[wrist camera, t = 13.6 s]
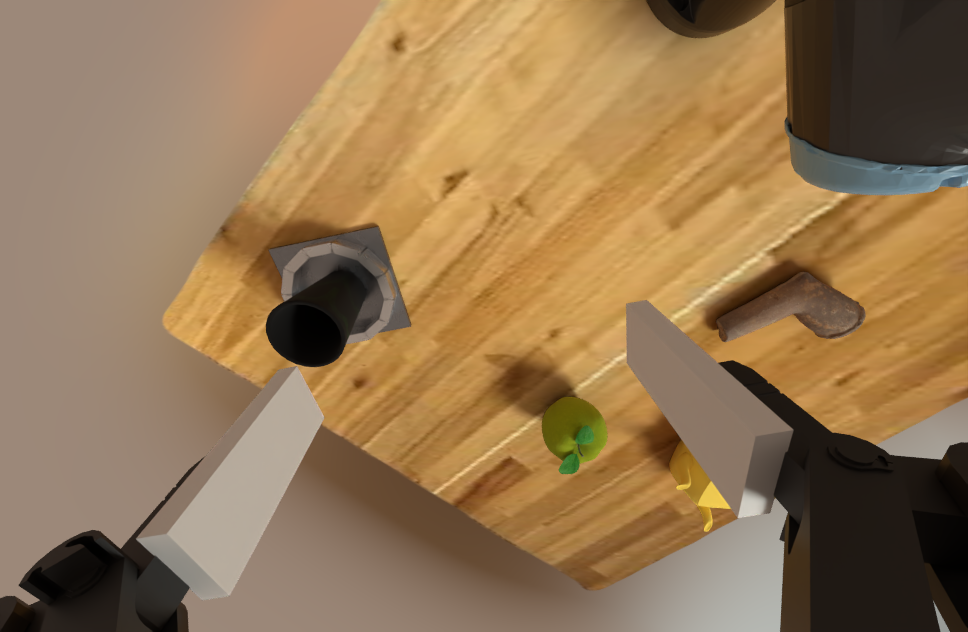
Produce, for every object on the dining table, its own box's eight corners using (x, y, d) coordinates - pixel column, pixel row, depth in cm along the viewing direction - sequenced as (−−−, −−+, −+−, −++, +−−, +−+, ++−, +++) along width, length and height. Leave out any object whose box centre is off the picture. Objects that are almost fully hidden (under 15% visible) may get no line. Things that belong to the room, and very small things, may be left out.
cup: (303, 270, 44) (249, 311, 33) (360, 255, 43) (323, 292, 33) (330, 322, 47) (289, 374, 37) (382, 309, 47) (357, 358, 36)
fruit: (527, 420, 57) (538, 471, 48) (553, 377, 54) (570, 424, 45) (575, 434, 59) (594, 486, 50) (604, 394, 55) (629, 442, 46)
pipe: (725, 330, 45) (754, 386, 48) (860, 259, 42) (885, 324, 44) (699, 314, 52) (726, 365, 54) (815, 251, 48) (839, 308, 50)
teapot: (677, 486, 66) (708, 538, 58) (647, 445, 61) (676, 494, 52) (752, 452, 63) (798, 501, 54) (727, 404, 57) (773, 450, 49)
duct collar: (270, 248, 43) (258, 254, 41) (378, 226, 42) (373, 231, 40) (316, 343, 49) (308, 353, 47) (411, 324, 49) (408, 334, 46)
